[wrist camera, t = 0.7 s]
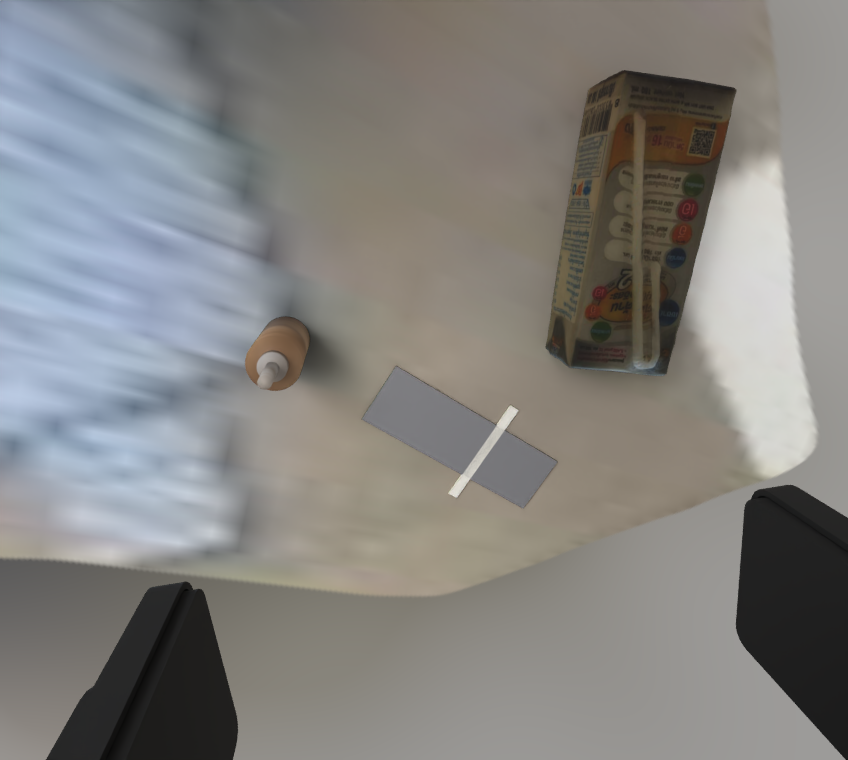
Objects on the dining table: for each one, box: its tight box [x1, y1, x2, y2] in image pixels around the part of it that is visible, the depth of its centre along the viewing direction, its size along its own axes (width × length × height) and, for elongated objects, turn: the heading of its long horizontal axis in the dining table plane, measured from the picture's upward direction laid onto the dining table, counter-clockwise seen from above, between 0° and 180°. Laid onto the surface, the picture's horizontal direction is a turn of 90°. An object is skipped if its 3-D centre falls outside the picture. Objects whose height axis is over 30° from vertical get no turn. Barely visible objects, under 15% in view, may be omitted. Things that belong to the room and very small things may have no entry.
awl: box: [245, 317, 310, 391], centre depth 36 cm, size 3×3×11 cm
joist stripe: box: [362, 366, 557, 508], centre depth 45 cm, size 16×9×1 cm, turn 57°
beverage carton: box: [546, 70, 736, 376], centre depth 39 cm, size 8×19×7 cm, turn 174°
